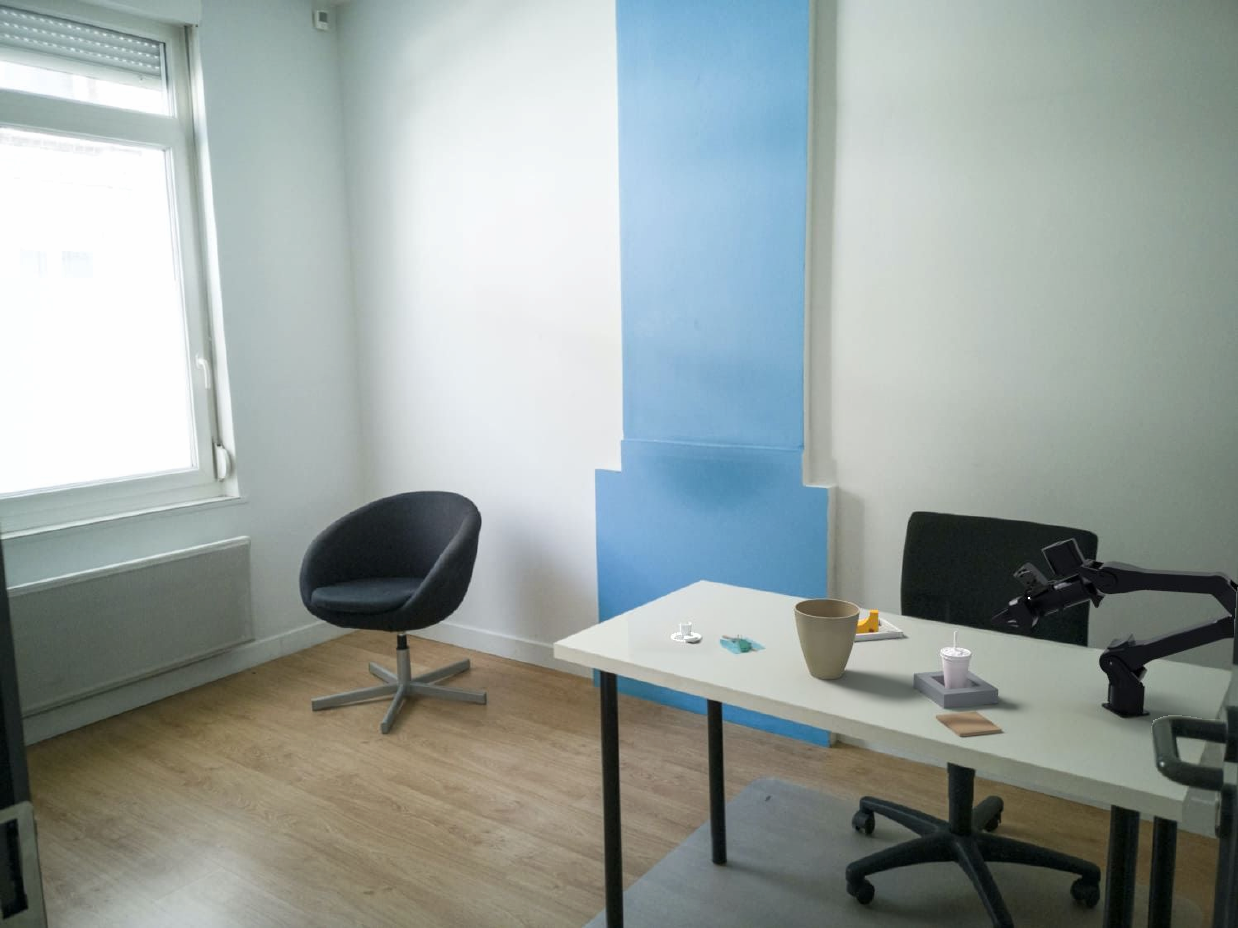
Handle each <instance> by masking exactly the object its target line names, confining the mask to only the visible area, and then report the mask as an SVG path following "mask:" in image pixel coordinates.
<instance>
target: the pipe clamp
mask: <svg viewBox="0 0 1238 928" xmlns="http://www.w3.org/2000/svg"><path fill="white" fill-rule="evenodd" d="M878 618H879V609H870V611H869V615H868V617H867V618H864V620H863V619H860V620H861V621H858V626H857V631H856V634H863V633H875V632H879V626H880V625H879V620H878Z"/></svg>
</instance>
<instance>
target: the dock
mask: <svg viewBox="0 0 1238 928" xmlns="http://www.w3.org/2000/svg"><path fill="white" fill-rule="evenodd" d="M912 686H913V687H914V688H915V689H916V690H918V691H919V692H920V693H922V694H923V695H925V696H926V697H928V698H929V699H930V700H932V701H933V702H934V703H936V705H938V706H939V707H940V708H942V709H950V708H959V707H960V708H961V707H970V706H979V705H980V706H981V705H991V704H998V703H999V688H997V687H995V686H994V685H992V684H991V683H989V682H988V681H986V680H985V679H982V678H981V677H979V675H976V674H975V673H973V672H971V671H970V670H968V673H967V679H966V685H965V688H956V689H947V688H946V687H945V682H944V672H943V670H937V671H936V670H935V671H927V672H915V673H913V685H912Z"/></svg>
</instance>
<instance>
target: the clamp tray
mask: <svg viewBox="0 0 1238 928" xmlns="http://www.w3.org/2000/svg"><path fill="white" fill-rule="evenodd" d="M864 619H865V618H864ZM864 619H859V620H858V621H861V620H864ZM878 620H879V626H881V627H883V628H884V629H886V630H887V631H878V632H875V633H863V634H856V636H855V640H854V642H860V641H861V642H862V641H870V640H871V641H874V640H884V639H885V640H887V639H895V638H896V639H897V638H904V631H903V630H902V629H900V628H899V627H896V626H895V625H894V624H892V623H891V622H889V621H887V620H885V619H884V618H883V617H878Z"/></svg>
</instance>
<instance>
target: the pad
mask: <svg viewBox="0 0 1238 928" xmlns="http://www.w3.org/2000/svg"><path fill="white" fill-rule="evenodd" d="M935 719H936V720H938V721H939V723H941V724H943V725H944V726H946V727H947V728H948V729H949V730H951V731H952V732H953V733H955V734H956V735H957V736H958V737H968V736H969V737H970V736H979V735H987V734H997V733H1003V729H1002V728H1001V727H999V726H998V725H997V724H995V723H994V722H992V721H991V720H989V719H988V718H986V717H985V716H983V714H981V713H980V712H978V711H977V710H975V711H965V712H957V713H947V714H938V715H935Z"/></svg>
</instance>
